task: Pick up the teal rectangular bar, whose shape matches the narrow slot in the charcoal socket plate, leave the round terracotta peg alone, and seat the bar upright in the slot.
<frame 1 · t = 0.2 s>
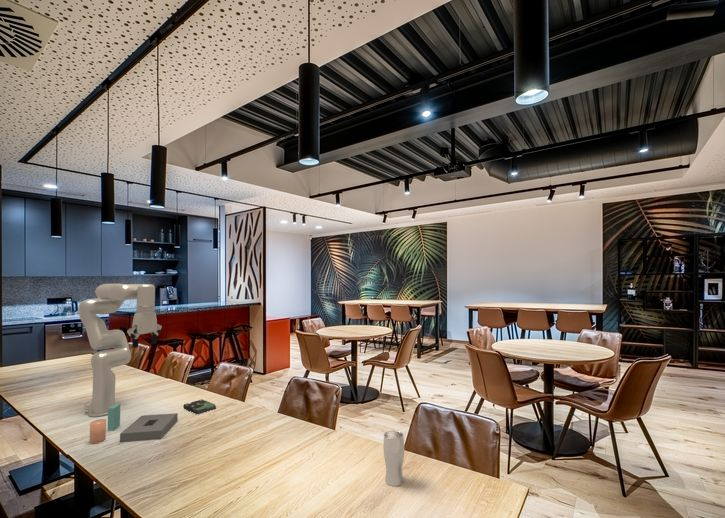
hand: (144, 345, 170), 36 cm above the table, tool pointing down, fingers open, 9 cm apart
socket plate: (150, 430, 159), on the table
round terracotta peg: (97, 441, 150), on the table
teal bar: (113, 428, 162), on the table
beer glass: (394, 481, 117), on the table
disk drive: (199, 410, 186), on the table
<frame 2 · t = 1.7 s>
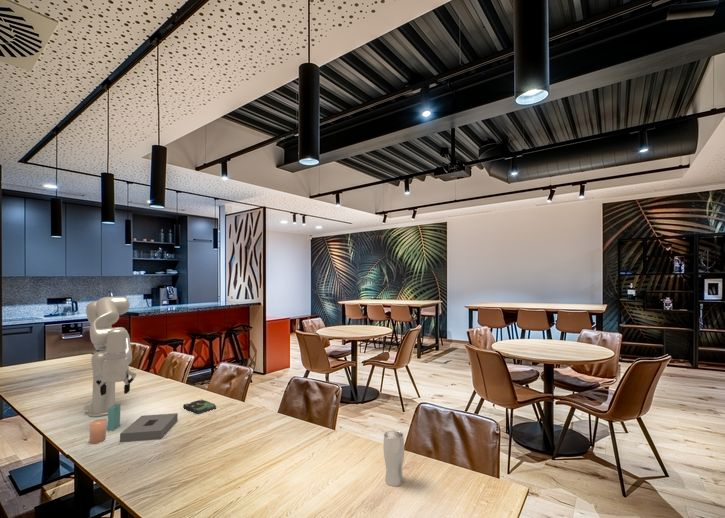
hand: (115, 393, 163), 16 cm above the table, tool pointing down, fingers open, 9 cm apart
nothing on the table moved.
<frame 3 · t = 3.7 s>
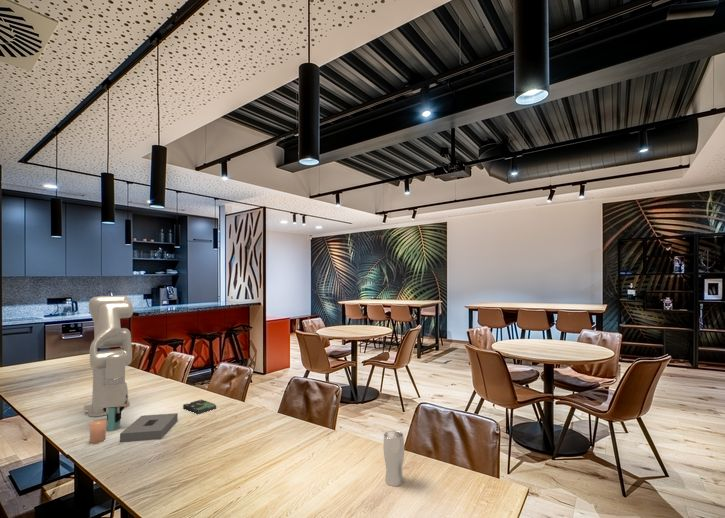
hand: (114, 421, 163), 3 cm above the table, tool pointing down, fingers closed on teal bar, 2 cm apart
teal bar: (113, 428, 162), on the table, touching gripper
everything else where it was.
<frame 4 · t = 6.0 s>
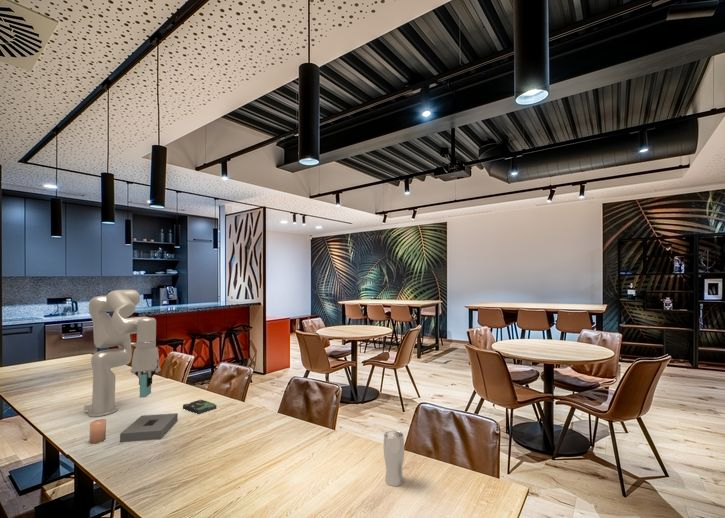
hand: (145, 385, 161), 20 cm above the table, tool pointing down, fingers closed on teal bar
teal bar: (145, 395, 161), point 15 cm above the table, touching gripper
everything else where it was.
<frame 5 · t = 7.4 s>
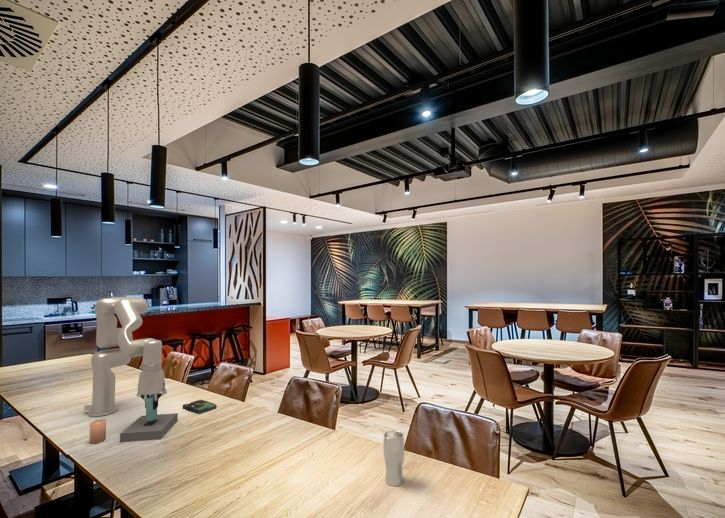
hand: (151, 408, 160), 10 cm above the table, tool pointing down, fingers closed on teal bar
teal bar: (151, 418, 160), point 5 cm above the table, touching gripper
everything else where it was.
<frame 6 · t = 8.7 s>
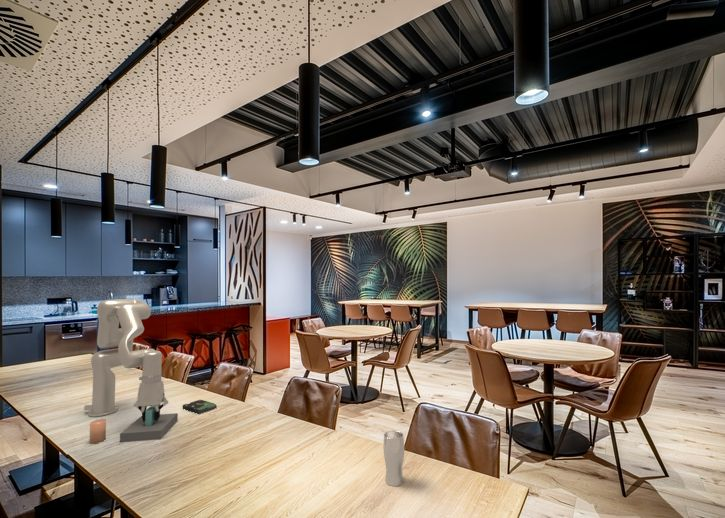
hand: (150, 419, 160), 5 cm above the table, tool pointing down, fingers open, 4 cm apart
teal bar: (150, 430, 160), resting in socket plate
everything else where it was.
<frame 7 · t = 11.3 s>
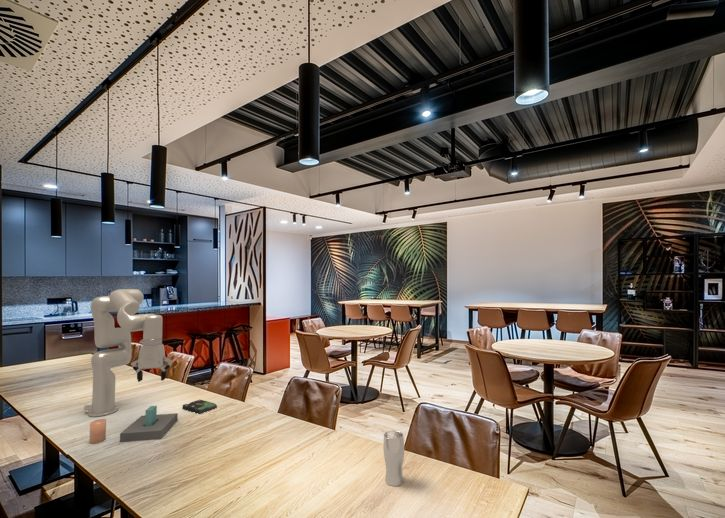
hand: (151, 380, 161), 22 cm above the table, tool pointing down, fingers open, 9 cm apart
nothing on the table moved.
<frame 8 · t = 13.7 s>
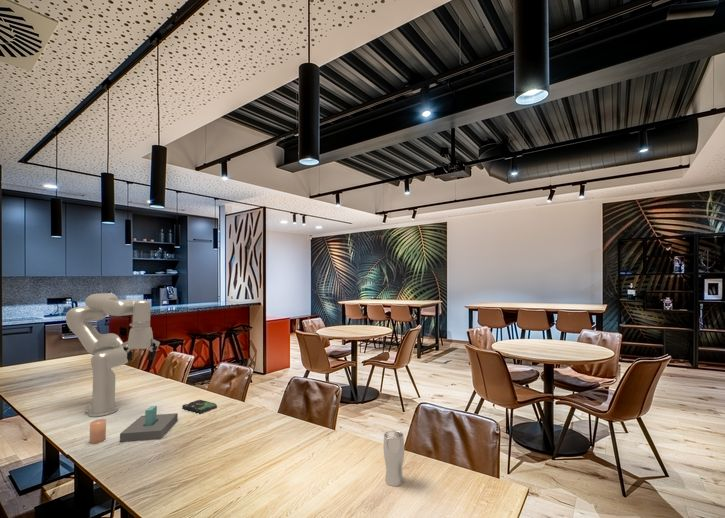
hand: (140, 359, 176), 28 cm above the table, tool pointing down, fingers open, 9 cm apart
nothing on the table moved.
at the end: teal bar 0.1 cm off-centre on the socket plate, point 0.0 cm above the socket plate's base; teal bar tilted 0°; round terracotta peg moved 0.0 cm from its start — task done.
